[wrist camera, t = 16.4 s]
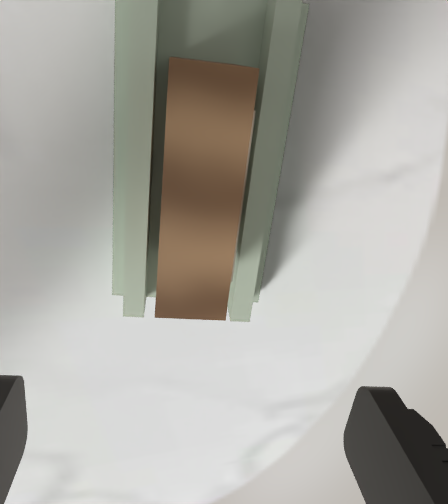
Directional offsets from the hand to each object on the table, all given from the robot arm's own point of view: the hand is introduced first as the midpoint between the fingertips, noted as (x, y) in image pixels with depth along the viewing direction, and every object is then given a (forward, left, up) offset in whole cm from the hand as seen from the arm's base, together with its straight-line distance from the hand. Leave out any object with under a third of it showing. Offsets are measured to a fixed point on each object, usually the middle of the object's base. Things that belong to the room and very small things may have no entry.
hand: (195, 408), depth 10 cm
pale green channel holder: (+1, -1, -24) cm, 24 cm away
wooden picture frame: (+1, -1, -23) cm, 23 cm away
